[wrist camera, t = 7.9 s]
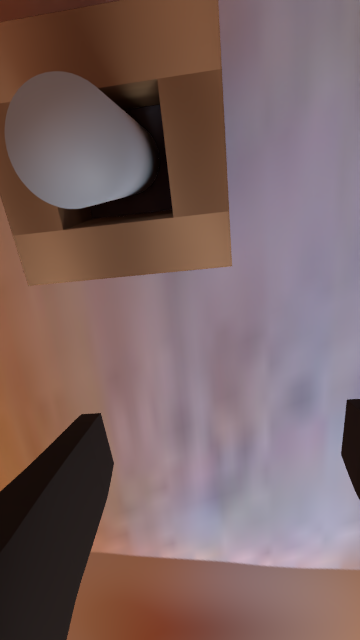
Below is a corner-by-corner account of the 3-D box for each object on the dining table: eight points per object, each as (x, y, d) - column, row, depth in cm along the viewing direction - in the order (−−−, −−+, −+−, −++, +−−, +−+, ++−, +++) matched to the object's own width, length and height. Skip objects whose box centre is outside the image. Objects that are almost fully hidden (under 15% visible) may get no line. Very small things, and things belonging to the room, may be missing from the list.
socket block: (212, 34, 14) (217, -17, 10) (225, 247, 17) (231, 266, 14) (11, 67, 15) (-51, 31, 11) (63, 264, 18) (28, 285, 15)
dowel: (158, 120, 15) (119, 68, 8) (161, 194, 16) (130, 208, 9) (90, 123, 15) (-9, 74, 8) (98, 195, 17) (19, 209, 9)
